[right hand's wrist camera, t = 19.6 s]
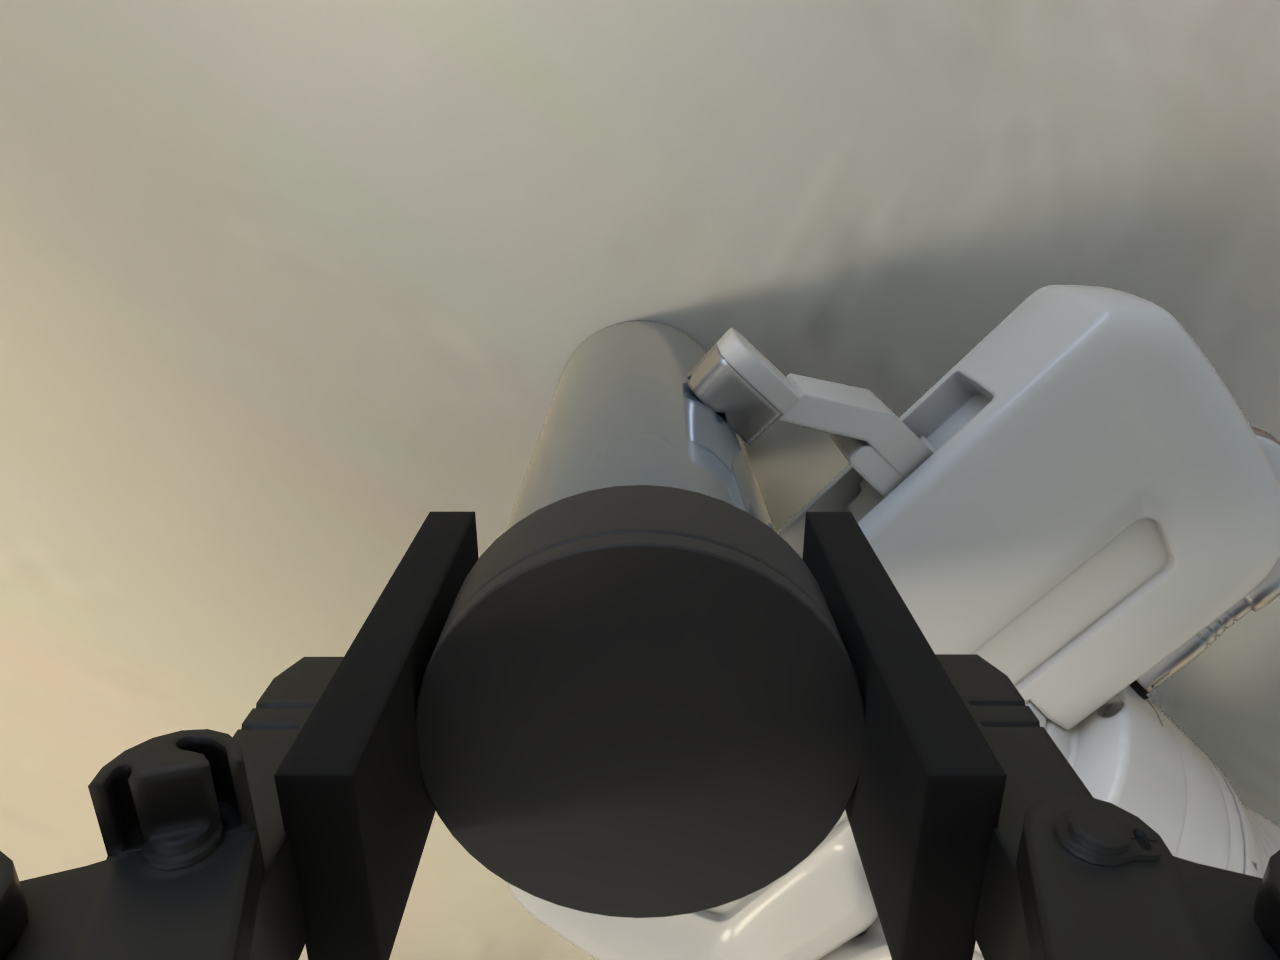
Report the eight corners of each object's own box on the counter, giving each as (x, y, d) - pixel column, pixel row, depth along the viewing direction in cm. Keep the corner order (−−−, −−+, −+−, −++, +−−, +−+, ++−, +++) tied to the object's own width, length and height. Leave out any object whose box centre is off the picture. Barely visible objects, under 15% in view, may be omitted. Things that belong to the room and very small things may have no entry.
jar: (721, 480, 26) (814, 855, 12) (560, 481, 26) (468, 857, 12) (725, 319, 25) (840, 540, 10) (553, 321, 25) (436, 542, 10)
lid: (396, 745, 13) (356, 841, 11) (527, 418, 11) (504, 469, 9) (732, 860, 14) (745, 967, 12) (905, 572, 12) (953, 647, 10)
